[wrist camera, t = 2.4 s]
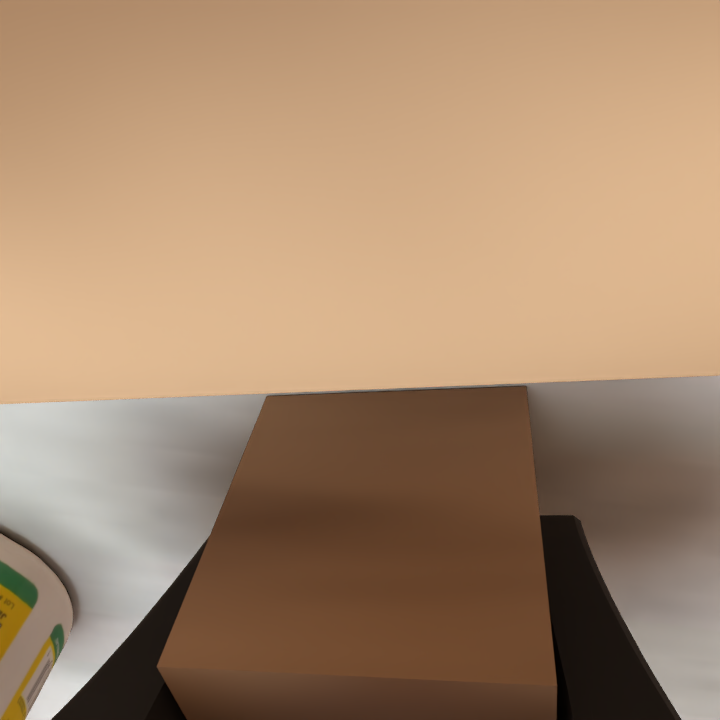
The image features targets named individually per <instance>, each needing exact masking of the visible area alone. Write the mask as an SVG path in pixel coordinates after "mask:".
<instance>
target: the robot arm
mask: <svg viewBox="0 0 720 720" xmlns="http://www.w3.org/2000/svg"><path fill="white" fill-rule="evenodd" d="M540 524H541V534H542V544H543V553H544V563H545V573H546V582H547V592H548V602H549V612H550V621H551V631H552V641H553V650H554V660H555V670H556V680H557V720H681V718H680V717H679V715H678V713H677V712H676V710H675V709H674V707H673V705H672V704H671V702H670V700H669V699H668V697H667V696H666V694H665V692H664V691H663V689H662V687H661V686H660V684H659V682H658V681H657V679H656V677H655V676H654V674H653V672H652V671H651V669H650V667H649V665H648V664H647V662H646V660H645V659H644V657H643V655H642V653H641V651H640V650H639V648H638V646H637V644H636V642H635V640H634V639H633V637H632V635H631V633H630V631H629V629H628V627H627V626H626V624H625V622H624V620H623V618H622V616H621V615H620V613H619V611H618V609H617V607H616V605H615V603H614V601H613V599H612V597H611V595H610V593H609V591H608V588H607V586H606V584H605V582H604V580H603V578H602V576H601V574H600V571H599V569H598V567H597V564H596V562H595V560H594V558H593V555H592V553H591V550H590V548H589V545H588V542H587V540H586V537H585V534H584V531H583V528H582V525H581V521H580V520H578V519H577V518H576V517H575V516H573V515H552V516H540ZM209 537H210V536H209ZM209 537H208V539H209ZM208 539H207V540H206V541H205V543H204V544H203V545H202V546H201V548H200V549H199V550H198V552H197V553H196V554H195V555H194V557H193V558H192V559H191V561H190V562H189V563H188V564H187V566H186V567H185V568H184V570H183V571H182V572H181V573H180V575H179V576H178V577H177V578H176V580H175V581H174V582H173V583H172V585H171V586H170V587H169V588H168V590H167V591H166V592H165V593H164V595H163V596H162V597H161V598H160V599H159V601H158V602H157V603H156V604H155V605H154V607H153V608H152V609H151V610H150V612H149V613H148V614H147V615H146V616H145V618H144V619H143V620H142V621H141V623H140V624H139V625H138V626H137V627H136V628H135V630H134V631H133V632H132V633H131V634H130V635H129V637H128V638H127V639H126V640H125V641H124V642H123V643H122V644H121V646H120V647H119V648H118V649H117V650H116V651H115V652H114V653H113V655H112V656H111V657H110V658H109V659H108V660H107V661H106V662H105V664H104V665H103V666H102V667H101V668H100V669H99V670H98V671H97V672H96V674H95V675H94V676H93V677H92V678H91V679H90V680H89V681H88V682H87V683H86V684H85V685H84V687H83V688H82V689H81V690H80V691H79V692H78V693H77V694H76V695H75V696H74V697H73V698H72V699H71V700H70V701H69V702H68V703H67V704H66V705H65V706H64V707H63V708H62V709H61V710H60V711H59V712H58V713H57V714H56V715H55V716H54V717H53V718H52V719H51V720H187V719H186V717H185V716H184V714H183V712H182V710H181V709H180V707H179V705H178V703H177V702H176V700H175V698H174V696H173V694H172V693H171V691H170V689H169V687H168V686H167V684H166V682H165V680H164V679H163V677H162V675H161V673H160V672H159V670H158V668H157V664H158V662H159V660H160V657H161V655H162V652H163V650H164V647H165V645H166V642H167V640H168V637H169V635H170V633H171V630H172V628H173V625H174V623H175V620H176V618H177V615H178V613H179V610H180V608H181V606H182V603H183V601H184V598H185V596H186V593H187V591H188V588H189V586H190V583H191V581H192V579H193V576H194V574H195V571H196V569H197V566H198V564H199V561H200V559H201V556H202V554H203V552H204V549H205V547H206V544H207V542H208Z"/></svg>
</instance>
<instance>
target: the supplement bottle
mask: <svg viewBox="0 0 720 720" xmlns="http://www.w3.org/2000/svg"><path fill="white" fill-rule="evenodd" d="M72 624H73V610H72V604H71V601H70V598H69V595H68V593H67V591H66V589H65V587H64V585H63V584H62V583H61V581H60V580H59V578H58V577H57V576H56V574H55V573H54V572H53V571H52V570H51V569H50V568H49V567H48V566H47V565H46V564H45V563H44V562H43V561H42V560H41V559H40V558H39V557H37V556H36V555H35V554H33V553H32V552H30V551H29V550H27V549H26V548H24V547H23V546H21V545H19V544H17V543H16V542H14V541H12V540H10V539H9V538H7V537H6V536H4V535H2V534H1V533H0V720H25V719H26V717H27V715H28V713H29V711H30V710H31V708H32V706H33V704H34V702H35V700H36V699H37V697H38V695H39V693H40V691H41V689H42V687H43V685H44V683H45V681H46V679H47V678H48V676H49V674H50V672H51V670H52V668H53V666H54V664H55V662H56V660H57V658H58V657H59V655H60V653H61V651H62V649H63V648H64V646H65V644H66V642H67V640H68V637H69V635H70V632H71V629H72Z"/></svg>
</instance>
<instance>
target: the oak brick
mask: <svg viewBox="0 0 720 720" xmlns="http://www.w3.org/2000/svg"><path fill="white" fill-rule="evenodd" d="M718 375H720V0H0V404H14V403H40V402H65V401H90V400H115V399H140V398H165V397H190V396H215V395H241V394H266V393H291V392H316V391H341V390H366V389H391V388H416V387H442V386H467V385H492V384H517V383H542V382H567V381H592V380H617V379H643V378H668V377H693V376H718Z"/></svg>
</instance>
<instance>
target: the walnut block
mask: <svg viewBox="0 0 720 720" xmlns="http://www.w3.org/2000/svg"><path fill="white" fill-rule="evenodd" d="M157 668H158V670H159V672H160V673H161V675H162V677H163V679H164V680H165V682H166V684H167V686H168V687H169V689H170V691H171V693H172V694H173V696H174V698H175V700H176V702H177V703H178V705H179V707H180V709H181V710H182V712H183V714H184V716H185V717H186V719H187V720H557V680H556V670H555V660H554V650H553V641H552V631H551V621H550V612H549V602H548V592H547V582H546V573H545V563H544V553H543V544H542V534H541V524H540V514H539V505H538V495H537V485H536V476H535V466H534V456H533V446H532V437H531V427H530V417H529V407H528V398H527V388H526V386H520V387H495V388H469V389H443V390H417V391H391V392H365V393H340V394H314V395H288V396H267V397H266V399H265V402H264V404H263V407H262V409H261V412H260V414H259V416H258V419H257V421H256V424H255V426H254V429H253V431H252V434H251V436H250V439H249V441H248V443H247V446H246V448H245V451H244V453H243V456H242V458H241V461H240V463H239V466H238V468H237V470H236V473H235V475H234V478H233V480H232V483H231V485H230V488H229V490H228V493H227V495H226V498H225V500H224V502H223V505H222V507H221V510H220V512H219V515H218V517H217V520H216V522H215V525H214V527H213V529H212V532H211V534H210V537H209V539H208V542H207V544H206V547H205V549H204V552H203V554H202V556H201V559H200V561H199V564H198V566H197V569H196V571H195V574H194V576H193V579H192V581H191V583H190V586H189V588H188V591H187V593H186V596H185V598H184V601H183V603H182V606H181V608H180V610H179V613H178V615H177V618H176V620H175V623H174V625H173V628H172V630H171V633H170V635H169V637H168V640H167V642H166V645H165V647H164V650H163V652H162V655H161V657H160V660H159V662H158V664H157Z"/></svg>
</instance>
